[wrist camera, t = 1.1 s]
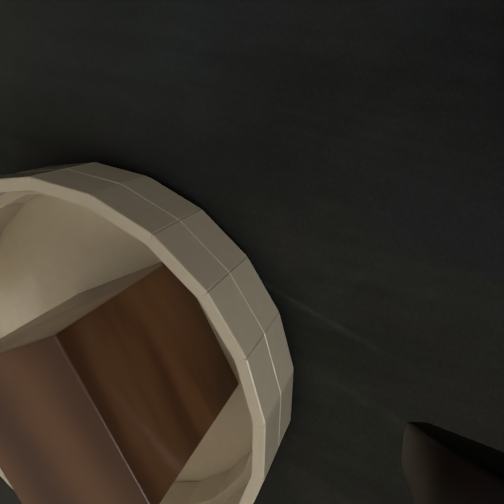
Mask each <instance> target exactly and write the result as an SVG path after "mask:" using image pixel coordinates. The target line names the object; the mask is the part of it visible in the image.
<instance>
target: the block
mask: <svg viewBox="0 0 504 504" xmlns="http://www.w3.org/2000/svg"><path fill="white" fill-rule="evenodd" d="M237 386H238V381H237V379H236V377H235V375H234V373H233V371H232V369H231V367H230V365H229V363H228V361H227V359H226V357H225V355H224V353H223V351H222V349H221V347H220V344H219V342H218V340H217V338H216V336H215V334H214V332H213V330H212V328H211V326H210V324H209V322H208V320H207V318H206V316H205V314H204V312H203V310H202V308H201V306H200V303H199V301H198V299H197V298H196V297H195V296H194V295H193V293H192V292H191V291H190V290H189V289H188V288H187V287H186V286H185V285H184V284H183V283H182V282H181V281H180V280H179V279H178V278H177V277H176V276H175V275H174V274H173V273H172V272H171V270H170V269H169V268H168V267H167V266H166V265H165V264H164V263H163V262H159V263H157V264H154V265H151V266H149V267H146V268H144V269H141V270H138V271H136V272H133V273H131V274H128V275H125V276H123V277H120V278H118V279H115V280H112V281H110V282H107V283H105V284H102V285H99V286H97V287H94V288H92V289H89V290H87V291H84V292H81V293H79V294H77V295H75V296H73V297H71V298H70V299H68V300H66V301H64V302H63V303H61V304H59V305H58V306H56V307H54V308H52V309H51V310H49V311H47V312H45V313H44V314H42V315H40V316H38V317H37V318H35V319H33V320H32V321H30V322H28V323H26V324H25V325H23V326H21V327H19V328H18V329H16V330H14V331H13V332H11V333H9V334H7V335H6V336H4V337H2V338H0V468H1V470H2V472H3V473H4V475H5V477H6V478H7V480H8V481H9V483H10V485H11V486H12V488H13V490H14V491H15V493H16V494H17V496H18V498H19V499H20V501H21V502H22V504H160V502H161V501H162V499H163V498H164V496H165V495H166V493H167V492H168V490H169V489H170V487H171V486H172V484H173V483H174V481H175V480H176V478H177V477H178V475H179V474H180V472H181V471H182V469H183V468H184V466H185V465H186V463H187V462H188V460H189V459H190V457H191V456H192V454H193V453H194V451H195V449H196V448H197V446H198V445H199V443H200V442H201V440H202V439H203V437H204V436H205V434H206V433H207V431H208V430H209V428H210V427H211V425H212V424H213V422H214V421H215V419H216V418H217V416H218V415H219V413H220V412H221V410H222V409H223V407H224V406H225V404H226V403H227V401H228V400H229V398H230V397H231V395H232V394H233V392H234V391H235V389H236V388H237Z"/></svg>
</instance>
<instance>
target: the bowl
mask: <svg viewBox="0 0 504 504" xmlns="http://www.w3.org/2000/svg"><path fill="white" fill-rule="evenodd" d="M159 262H163V263H164V264H165V265H166V266H167V267H168V268H169V269H170V270H171V272H172V273H173V274H174V275H175V276H176V277H177V278H178V279H179V280H180V281H181V282H182V283H183V284H184V285H185V286H186V287H187V288H188V289H189V290H190V291H191V292H192V293H193V295H194V296H195V297H196V298H197V299H198V301H199V303H200V306H201V308H202V310H203V312H204V314H205V316H206V318H207V320H208V322H209V324H210V326H211V328H212V330H213V332H214V334H215V336H216V338H217V340H218V342H219V344H220V347H221V349H222V351H223V353H224V355H225V357H226V359H227V361H228V363H229V365H230V367H231V369H232V371H233V373H234V375H235V377H236V379H237V381H238V386H237V388H236V389H235V391H234V392H233V394H232V395H231V397H230V398H229V400H228V401H227V403H226V404H225V406H224V407H223V409H222V410H221V412H220V413H219V415H218V416H217V418H216V419H215V421H214V422H213V424H212V425H211V427H210V428H209V430H208V431H207V433H206V434H205V436H204V437H203V439H202V440H201V442H200V443H199V445H198V446H197V448H196V449H195V451H194V453H193V454H192V456H191V457H190V459H189V460H188V462H187V463H186V465H185V466H184V468H183V469H182V471H181V472H180V474H179V475H178V477H177V478H176V480H175V481H174V483H173V484H172V486H171V487H170V489H169V490H168V492H167V493H166V495H165V496H164V498H163V499H162V501H161V502H160V504H254V501H255V499H256V497H257V495H258V493H259V491H260V488H261V486H262V484H263V482H264V480H265V477H266V475H267V473H268V470H269V468H270V466H271V463H272V461H273V459H274V457H275V454H276V452H277V450H278V447H279V445H280V443H281V441H282V438H283V436H284V434H285V431H286V429H287V427H288V424H289V422H290V419H291V404H292V387H293V364H292V360H291V356H290V353H289V349H288V345H287V341H286V337H285V333H284V329H283V325H282V321H281V317H280V314H279V311H278V309H277V308H276V306H275V304H274V302H273V301H272V299H271V297H270V295H269V294H268V292H267V290H266V288H265V287H264V285H263V283H262V281H261V280H260V278H259V276H258V274H257V272H256V271H255V269H254V267H253V265H252V264H251V262H250V260H249V258H248V257H247V256H246V254H245V253H244V252H243V251H242V250H241V249H240V248H239V247H238V246H237V245H236V244H235V243H234V242H233V241H232V240H231V239H230V238H229V237H228V236H227V235H226V234H225V233H224V232H223V231H222V229H221V228H220V227H219V226H218V225H217V224H216V223H215V222H214V221H213V220H212V219H211V218H210V217H209V216H208V215H207V214H206V213H205V212H204V211H203V210H202V209H201V208H199V207H198V206H196V205H194V204H193V203H191V202H190V201H188V200H186V199H185V198H183V197H181V196H180V195H178V194H176V193H175V192H173V191H172V190H170V189H168V188H167V187H165V186H163V185H162V184H160V183H158V182H157V181H155V180H154V179H152V178H150V177H147V176H145V175H141V174H138V173H134V172H130V171H126V170H123V169H119V168H115V167H111V166H107V165H104V164H100V163H95V162H90V163H78V164H67V165H55V166H47V167H42V168H37V169H32V170H28V171H23V172H19V173H13V174H8V175H3V176H0V338H2V337H4V336H6V335H7V334H9V333H11V332H13V331H14V330H16V329H18V328H19V327H21V326H23V325H25V324H26V323H28V322H30V321H32V320H33V319H35V318H37V317H38V316H40V315H42V314H44V313H45V312H47V311H49V310H51V309H52V308H54V307H56V306H58V305H59V304H61V303H63V302H64V301H66V300H68V299H70V298H71V297H73V296H75V295H77V294H79V293H81V292H84V291H87V290H89V289H92V288H94V287H97V286H99V285H102V284H105V283H107V282H110V281H112V280H115V279H118V278H120V277H123V276H125V275H128V274H131V273H133V272H136V271H138V270H141V269H144V268H146V267H149V266H151V265H154V264H157V263H159ZM0 476H1V477H2V478H3V479H4V481H5V482H6V483H7V484H8V485H9V486H11V485H10V483H9V481H8V480H7V478H6V477H5V475H4V473H3V472H2V470H1V468H0ZM11 488H12V486H11ZM12 489H13V488H12Z"/></svg>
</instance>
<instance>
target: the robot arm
mask: <svg viewBox="0 0 504 504" xmlns="http://www.w3.org/2000/svg"><path fill="white" fill-rule="evenodd" d="M401 468H402V472H403V475H404V478H405V481H406V483H407V486H408V489H409V492H410V494H411V497H412V500H413V503H414V504H504V452H502V451H499V450H496V449H494V448H491V447H489V446H486V445H484V444H481V443H478V442H476V441H473V440H471V439H468V438H465V437H463V436H460V435H458V434H455V433H453V432H450V431H447V430H445V429H442V428H440V427H437V426H434V425H432V424H429V423H425V422H409V423H407V424H406V427H405V431H404V438H403V446H402V453H401Z"/></svg>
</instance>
